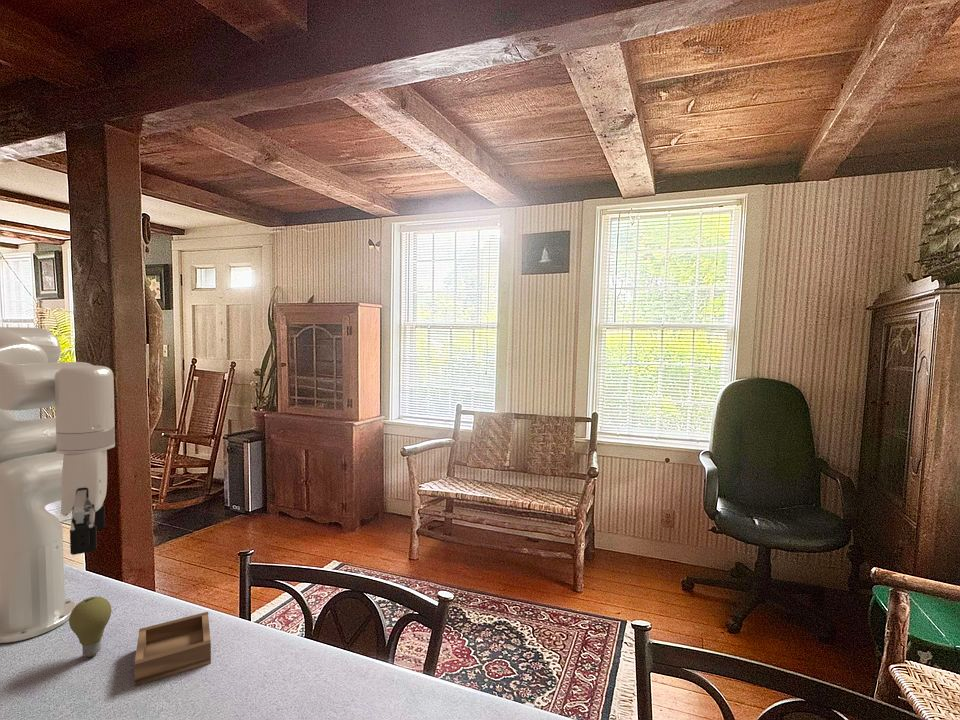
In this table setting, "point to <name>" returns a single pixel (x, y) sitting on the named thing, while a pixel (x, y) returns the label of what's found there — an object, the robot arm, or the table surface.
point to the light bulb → (90, 623)
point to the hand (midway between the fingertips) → (88, 540)
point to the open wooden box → (172, 648)
